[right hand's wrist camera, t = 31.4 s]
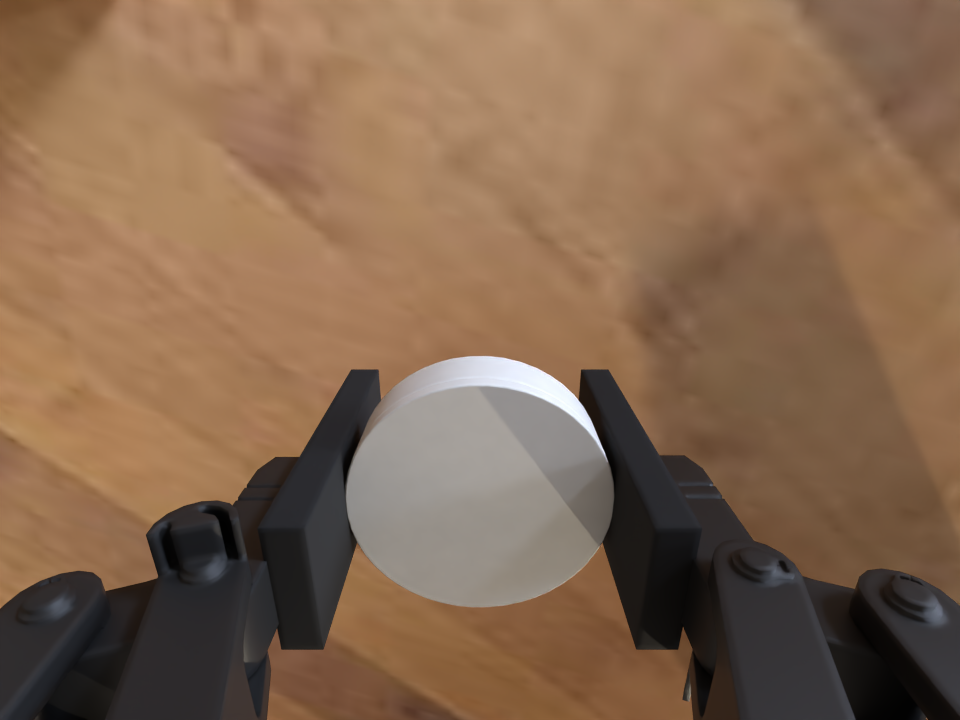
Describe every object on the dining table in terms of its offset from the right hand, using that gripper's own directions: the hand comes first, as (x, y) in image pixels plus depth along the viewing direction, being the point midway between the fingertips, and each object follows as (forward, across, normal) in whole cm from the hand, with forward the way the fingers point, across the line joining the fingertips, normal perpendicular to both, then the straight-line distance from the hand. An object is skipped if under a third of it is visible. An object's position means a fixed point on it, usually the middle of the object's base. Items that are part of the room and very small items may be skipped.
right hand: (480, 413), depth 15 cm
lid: (-4, 0, 0) cm, 4 cm away
